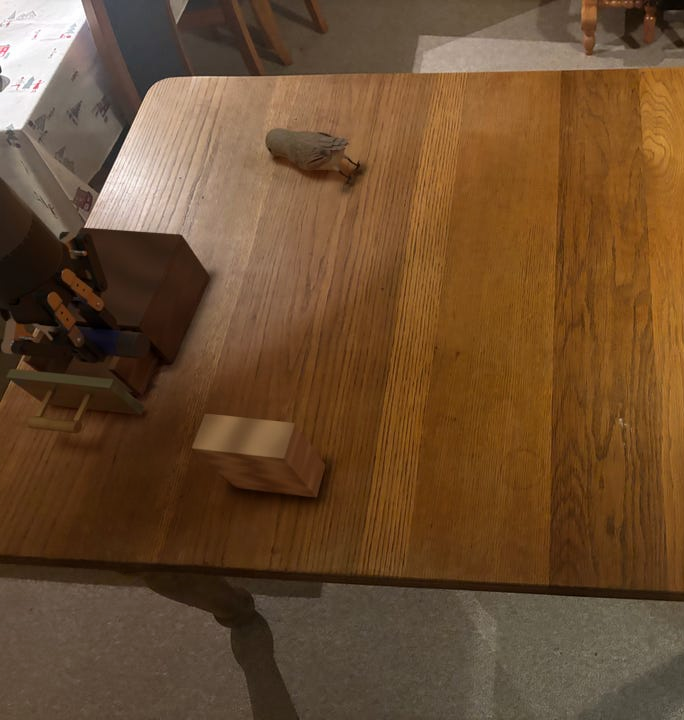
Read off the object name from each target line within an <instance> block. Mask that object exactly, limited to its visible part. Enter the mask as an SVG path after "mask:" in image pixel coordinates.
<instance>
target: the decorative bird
mask: <svg viewBox="0 0 684 720" xmlns="http://www.w3.org/2000/svg"><path fill="white" fill-rule="evenodd" d="M264 139H265V140H264V142H265V148H266V150H268V153H270V155H271V156H273V157H274V158H276V157H285V158H286V159H287V160H288V161H290V162H292V163H293V164H295V165H296V166H297V167H298V168H300V169H302V170H304V171H308V172H309V171H315V170H319V171H325V170H327V171H335V172H337V173H339V174H340V175H341V176H343V177H345V178H346V179H347V180H346V181H345V185H347V184H348V185H350V181H351V180H353V177H352V175H351V174H352V172H349V174H348V175H347V174H345V173H343V171H342V170H341V169H340V168H338V167H339V166H340V165H341V164H342V161H343V159H345V160H347V161H348V162H349V163H351V165H354V166H356V167H355V168H354V171H353V174H354V176H355V175H356V172H357V173H358V172H359V171H358V170H359V169H360V168H361V163H360V160H358V161H357V163H356V162H354V161H353V160H352V159H350V157H349V156H348V155H347V154H345V150H346V149H347V146H349V145H350V142H349V141H350V140H351V139H350V138H345V137H339V136H333V135H331V134H329V133H327V132H324V131H310V130H300V131H299V130H298V131H294V130H290V129H287V128H282V127H276V128H272V129H270V130H269V131H268V132H267V133H266V135H265V138H264Z"/></svg>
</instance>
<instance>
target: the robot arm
mask: <svg viewBox="0 0 684 720" xmlns="http://www.w3.org/2000/svg"><path fill="white" fill-rule="evenodd" d="M85 270H87V271H89V273H90V275H91V278H88V277H87V274H86V271H85ZM107 288H108V283H107V280H106V278H105V275H104V272H103V269H102V266H101V263H100V260H99V257H98V254H97V251H96V249H95V246H94V243H93V240H92V237H91V235H90V234H88V233H78V232H74V231H61V232H60V233H59V236H58V237H57V235H56V234H55V233H54V232H53V231H52V229H50V227H48V225H47V224H46V223H45V222H44V221H43V220H42V219H41V218H40V217H39V216H38V215H37V213H35V212H34V210H33V209H32V208H31V207H30V206H29V205H28V204H27V203H26V202H25V201H24V200H23V199H22V198H21V196H20V195H19V194H18V193H17V192H16V191H15V189H13V188H12V186H11V185H9V183H7V181H5V180H4V179H3V178H2V177H1V176H0V319H2V320H3V321H4V322H5V328H4V335H3V338H0V354H7V355H17V356H24V357H25V356H34V357H44V358H53V359H62V360H68V359H70V358H71V356H72V355H73V356H74V357H75V358H77V360H79V361H80V362H86V363H95V364H97V362H104V360H105V358H106V356H107V355H106V354H104V352H103V351H102V350H101V349H100V348H99V347H98V346H97V345H95V344H94V343H93V342H92V341H91V340H90V339H89V338H88V337H84V336H83V335H82V333H81V332H80V331H79V330H78V328H77V327H76V326H75V324H76V320H75V319H74V318H73V316H72V315H71V314H70V313H69V311H68V310H67V307H68V304H69V305H71V306H72V307H74V308H75V309H80V311H79V313H78V314H79V315H80V316H82V317H83V318H84V319H85V320H86V321H87V322H88V323H89V324H90V325H91V326H92V327H93V328H99V329H109V330H119V331H120V328H119V327H118V326H117V325H116V324H117V320H116V318H115V317H114V316H113V315H112V314H111V313H110V312H109V311H108V310H107V309H106V308H105V307H104V306H103V305H104V303H103V300H102V299H101V293H102V292H105V291H106V290H107ZM26 325H32V326H33V327H34V328H35V329H37V330H38V331H40V330H41V331H43V332H44V333H45V334H46V335H47V336H48V338H49V339H50V340H51V341H50V342H49V343H48V344H43V343H36V342H37V338H36V336H33V334H32V332H29V331H27V330H26Z"/></svg>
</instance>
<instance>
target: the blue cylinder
mask: <svg viewBox="0 0 684 720" xmlns="http://www.w3.org/2000/svg"><path fill="white" fill-rule="evenodd" d="M76 327H77V328H78V330H79V331H80V332H81V333H82V335H83V336H84V337H88V338H89V339H90V340H91V341H92V342H93V343H94V344H95V345H97V346H98V347H99V348H100V349H101V350H102V351H103V352H104V354H106V355H107V356H116V357H125V358H135V359H143V358H144V357H146V355H147V354H148V352H149V349H150V340H149V338H148V336H147V335H146V334H145V333H138V332H128V331H119V330H109V329H99V328H89V327H80V326H76Z"/></svg>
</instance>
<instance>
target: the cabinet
mask: <svg viewBox="0 0 684 720" xmlns="http://www.w3.org/2000/svg"><path fill="white" fill-rule="evenodd" d="M77 233H88V234H90V235H91V237H92V240H93V243H94V246H95V249H96V251H97V254H98V257H99V260H100V263H101V266H102V269H103V272H104V275H105V278H106V280H107V283H108V288H107V290H106V291H105V292H102V293H101V299H102V300H103V303H104V305H103V306H104V307H105V308H106V309H107V310H108V311H109V312H110V313H111V314H112V315H113V316H114V317H115V318H116V320H117V324H116V325H117V326H118V327H119V328H127V329H136V331H137V332H138V333H145V334H146V335H147V336H148V338H149V340H150V346H151V347H152V348H153V349H154V350H155V351H156V352H157V353H158V354H159V355H160V358H159V360H158V362H157V364H158V363H159V364H168V365H173V364H174V362H175V359H176V356H177V354H178V352H179V350H180V348H181V346H182V343H183V341H184V338H185V336H186V335H187V331H188V330H189V327H190V324H191V322H192V320H193V318H194V315H195V313H196V312H197V311H196V310H197V308H198V306H199V304H200V302H201V299H202V297H203V295H204V293H205V290H206V287H207V286H208V283H209V281H210V278H211V276H210V274H209V273H208V270H206V268H205V267H204V265H203V264H202V261H201V260H200V259H199V258H198V256H197V255H196V254H195V252H194V250H193V249H192V247H191V245H190V244H189V243H188V242H187V240H186V238H185V236H183V234H180V233H167V232H166V233H165V232H154V231H139V230H125V229H124V230H123V229H111V228H97V227H80V229H79V230H78V232H77ZM85 271H86V274H87V277H88V278H91V275H90V273H89V271H87V270H85ZM67 310H68V311H69V313H70V314H71V315H72V316H73V318H74V319H75V320H76V324H83V325H90V324H89V323H88V322H87V321H86V320H85V319H84V318H83V317H82V316H80V315H79V314H78V313H79V311H80V309H75V308H74V307H72V306H71V305H69V304H68V307H67Z"/></svg>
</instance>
